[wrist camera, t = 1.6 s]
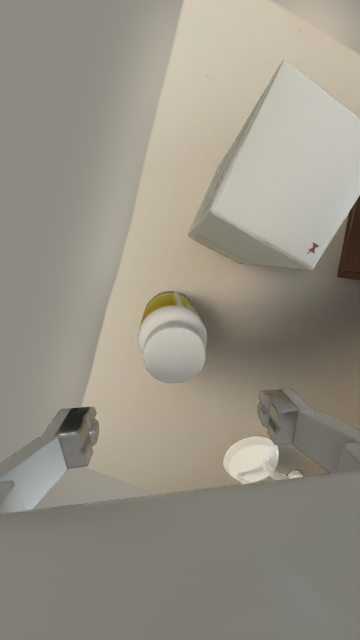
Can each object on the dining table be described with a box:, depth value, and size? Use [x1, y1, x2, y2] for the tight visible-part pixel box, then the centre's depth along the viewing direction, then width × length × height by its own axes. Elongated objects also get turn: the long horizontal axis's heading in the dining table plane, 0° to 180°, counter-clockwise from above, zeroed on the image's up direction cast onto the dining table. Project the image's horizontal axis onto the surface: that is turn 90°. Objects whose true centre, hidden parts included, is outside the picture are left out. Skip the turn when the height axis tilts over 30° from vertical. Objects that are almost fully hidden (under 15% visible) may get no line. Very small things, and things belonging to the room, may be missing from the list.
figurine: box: [223, 436, 289, 484], centre depth 26 cm, size 10×10×18 cm
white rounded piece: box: [288, 470, 303, 478], centre depth 35 cm, size 3×3×4 cm
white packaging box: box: [188, 59, 360, 270], centre depth 17 cm, size 7×7×13 cm
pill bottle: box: [138, 291, 207, 383], centre depth 20 cm, size 6×6×11 cm
